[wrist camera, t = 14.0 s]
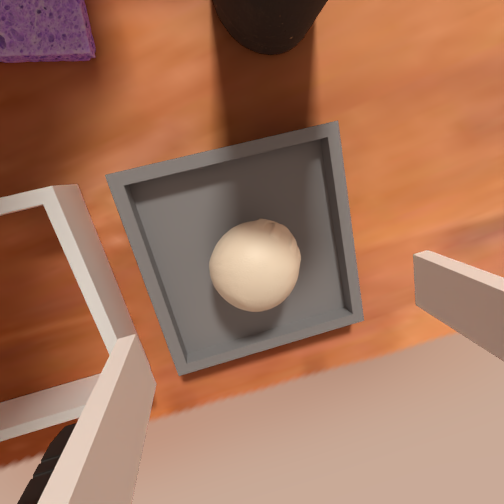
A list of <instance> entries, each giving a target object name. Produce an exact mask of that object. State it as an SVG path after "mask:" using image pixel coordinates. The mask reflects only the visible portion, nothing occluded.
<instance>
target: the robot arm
mask: <svg viewBox="0 0 504 504" xmlns="http://www.w3.org/2000/svg"><path fill="white" fill-rule="evenodd" d="M413 262H414V282H415V302H416V305H417V306H418V307H420V308H421V309H423V310H424V311H426V312H427V313H429V314H431V315H432V316H434V317H435V318H437V319H438V320H440V321H441V322H443V323H445V324H446V325H448V326H449V327H451V328H452V329H454V330H456V331H457V332H459V333H460V334H462V335H463V336H465V337H466V338H468V339H470V340H471V341H473V342H474V343H476V344H478V345H479V346H481V347H482V348H484V349H485V350H487V351H489V352H490V353H491V354H493V355H495V356H496V357H498V358H499V359H501V360H502V361H504V278H503V277H500V276H498V275H495V274H492V273H489V272H487V271H484V270H481V269H478V268H476V267H473V266H470V265H467V264H465V263H462V262H459V261H456V260H454V259H451V258H448V257H445V256H443V255H440V254H437V253H434V252H432V251H429V250H426V251H423V252H419V253H416V254H413ZM155 389H156V382H155V379H154V377H153V374H152V372H151V369H150V367H149V365H148V362H147V360H146V357H145V355H144V353H143V350H142V348H141V345H140V343H139V340H138V338H137V336H136V334H133V335H130V336H126V337H123V338H119V339H118V340H117V342H116V344H115V346H114V348H113V350H112V352H111V354H110V356H109V358H108V360H107V362H106V364H105V366H104V368H103V370H102V372H101V374H100V377H99V379H98V381H97V383H96V385H95V387H94V389H93V391H92V393H91V395H90V397H89V399H88V401H87V403H86V405H85V407H84V409H83V411H82V413H81V415H80V417H79V419H78V421H77V423H75V424H72V425H68V426H65V427H64V428H63V430H62V431H61V432H60V433H59V434H58V435H57V436H56V438H55V439H54V440H53V441H52V442H51V443H50V445H49V447H48V449H47V451H46V452H45V454H44V456H43V458H42V460H41V464H39V465H38V467H37V469H36V471H35V472H34V474H33V479H31V480H30V482H29V484H28V485H27V487H26V489H25V491H24V493H23V494H22V496H21V498H20V500H19V502H18V503H17V504H132V499H133V493H134V489H135V483H136V480H137V475H138V470H139V464H140V460H141V455H142V451H143V446H144V441H145V437H146V431H147V427H148V422H149V417H150V413H151V408H152V403H153V398H154V393H155Z"/></svg>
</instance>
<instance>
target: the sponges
mask: <svg viewBox="0 0 504 504" xmlns="http://www.w3.org/2000/svg"><path fill="white" fill-rule="evenodd" d="M95 51H96V47H95V43H94V39H93V36H92V33H91V27H90V22H89V18H88V14H87V9H86V5H85V2H84V0H0V62H4V63H18V62H27V61H29V62H39V61H47V62H49V61H54V62H55V61H89V60H90V59H91V58H96V56H95Z"/></svg>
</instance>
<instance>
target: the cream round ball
mask: <svg viewBox="0 0 504 504" xmlns="http://www.w3.org/2000/svg"><path fill="white" fill-rule="evenodd" d="M300 262H301V254H300V250H299V248H298V246H297V242H296V240H295V238H294V236H293V235H292V234H291V232H290V231H289V229H288V228H287V227H286V226H284V225H282V224H279V223H277V222H274V221H271V220H267V219H259V220H255V221H249V222H245V223H242V224H239V225H237V226H235V227H233V228H231V229H230V230H229V231H228V232H227V233H225V234H224V235H223V236H222V238H221V239H220V240H219V241H218V243H217V244H216V246H215V248H214V250H213V253H212V255H211V258H210V261H209V270H210V277H211V280H212V282H213V285H214V287H215V289H216V290H217V291H218V293H219V294H220V295H221V297H223V298H224V299H225V300H226V301H227V302H228V303H230V304H231V305H233V306H235V307H236V308H239V309H242V310H246V311H250V312H261V311H265V310H268V309H271V308H274V307H276V306H277V305H279V304H280V303H282V302H283V301H284V300H285V299H286V298H287V297H288V296H289V295H290V293H291V292H292V290H293V288H294V286H295V284H296V282H297V279H298V275H299V268H300Z"/></svg>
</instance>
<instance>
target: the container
mask: <svg viewBox="0 0 504 504" xmlns="http://www.w3.org/2000/svg"><path fill="white" fill-rule="evenodd" d="M327 1H328V0H213V3H214V6H215V9H216V12H217V14H218V16H219V18H220V20H221V21H222V23H223V25H224V26H225V28H226V29H227V31H228V32H229V33H230V34H231V36H232V37H233V38H234V39H235V40H237V41H238V42H239V43H240V44H242V45H243V46H245V47H246V48H248V49H250V50H252V51H255V52H257V53H261V54H268V55H274V54H280V53H284V52H286V51H288V50H290V49H292V48H293V47H294V46H296V45H297V44H298V43H299V42H300V41H301V40H302V39H303V38H304V36H305V34H306V33H307V31H308V30H309V28H310V27H311V25H312V24H313V22H314V20H315V19H316V17H317V16H318V14H319V13H320V11H321V10H322V8H323V7H324V5H325V4H326V2H327Z"/></svg>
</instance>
